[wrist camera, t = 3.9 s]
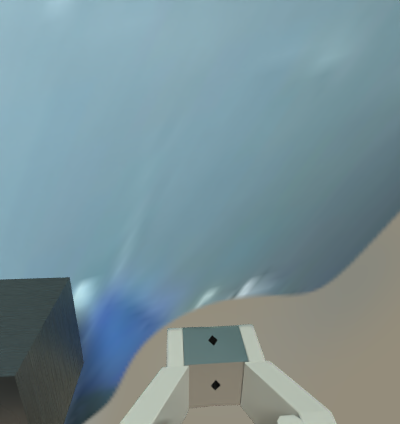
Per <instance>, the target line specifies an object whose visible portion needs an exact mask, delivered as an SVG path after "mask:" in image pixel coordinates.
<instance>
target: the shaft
mask: <svg viewBox="0 0 400 424" xmlns="http://www.w3.org/2000/svg"><path fill="white" fill-rule="evenodd" d="M83 363H84V362H83V356H82V350H81V344H80V338H79V332H78V326H77V320H76V314H75V308H74V301H73V295H72V289H71V283H70V277H67V278H36V279H6V280H0V424H64V421H65V418H66V415H67V412H68V409H69V406H70V403H71V400H72V396H73V393H74V390H75V387H76V384H77V381H78V378H79V375H80V372H81V369H82V366H83Z"/></svg>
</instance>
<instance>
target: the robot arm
mask: <svg viewBox="0 0 400 424" xmlns="http://www.w3.org/2000/svg"><path fill="white" fill-rule="evenodd" d="M214 405H215V406H217V405H218V406H220V405H241V407H242V409H243V410H244V411H245V412H246V414H247V415H248V416H249V417H250V419H251V420H252V421H253V423H254V424H337V423H336V421H335V419H334V417H333V415H332V413H331V411H330V410H329V409H327V408H326V407H325V406H324V405H323V404H321V403H320V402H319V401H318V400H317V399H315V398H314V397H313V396H312V395H311V394H309V393H308V392H307V391H306V390H304V389H303V388H302V387H301V386H300V385H298V384H297V383H296V382H295V381H294V380H292V379H291V378H290V377H289V376H288V375H286V374H285V373H284V372H283V371H282V370H280V369H279V368H278V367H277V366H276V365H274V364H273V363H272V362H271V361H266V360H265V357H264V355H263V352H262V349H261V346H260V344H259V341H258V338H257V335H256V332H255V329H254V327H253V325H252V324H249V325H238V326H218V327H190V328H189V327H188V328H183V329H182V328H168V330H167V366H166V367H162V368H161V369H160V371H159V372H158V373H157V375H156V376H155V378H154V379H153V380H152V381H151V383H150V384H149V385H148V387H147V388H146V389H145V390H144V392H143V393H142V394H141V396H140V397H139V399H138V400H137V401H136V402H135V404H134V405H133V406H132V408H131V409H130V410H129V412H128V413H127V414H126V416H125V417H124V418H123V420H122V421H121V422H120V423H119V424H182V423H183V421H184V419H185V417H186V415H187V413H188V411H189V408H197V407H207V406H214Z"/></svg>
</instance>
